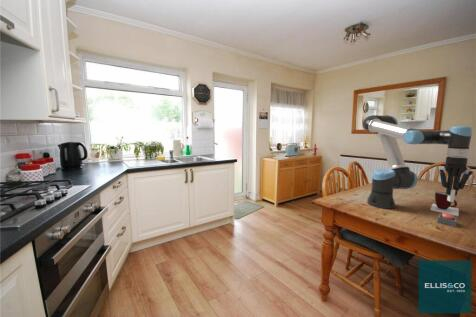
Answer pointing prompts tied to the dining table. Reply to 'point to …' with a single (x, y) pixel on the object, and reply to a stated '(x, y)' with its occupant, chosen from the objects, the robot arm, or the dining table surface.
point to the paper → (450, 210)
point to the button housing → (447, 221)
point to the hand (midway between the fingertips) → (450, 201)
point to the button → (447, 216)
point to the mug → (443, 200)
